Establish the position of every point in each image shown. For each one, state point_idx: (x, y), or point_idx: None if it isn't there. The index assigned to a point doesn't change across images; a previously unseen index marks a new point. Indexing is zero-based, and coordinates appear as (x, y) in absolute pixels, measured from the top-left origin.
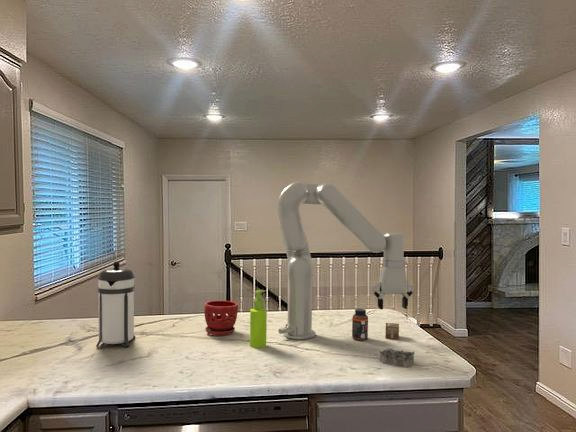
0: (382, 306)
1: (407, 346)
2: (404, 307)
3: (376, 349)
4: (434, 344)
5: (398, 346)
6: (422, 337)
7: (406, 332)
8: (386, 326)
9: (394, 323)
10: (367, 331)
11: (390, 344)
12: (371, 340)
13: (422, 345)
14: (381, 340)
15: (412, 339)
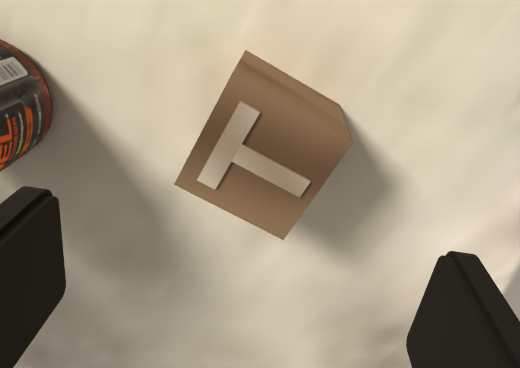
0: (35, 323)
1: (262, 308)
2: (415, 337)
3: (60, 302)
4: None
5: (209, 295)
6: (497, 186)
7: (481, 22)
8: (182, 186)
9: (310, 125)
10: (12, 161)
11: (177, 255)
12: (78, 152)
13: (363, 316)
14: (151, 170)
15: (386, 207)
